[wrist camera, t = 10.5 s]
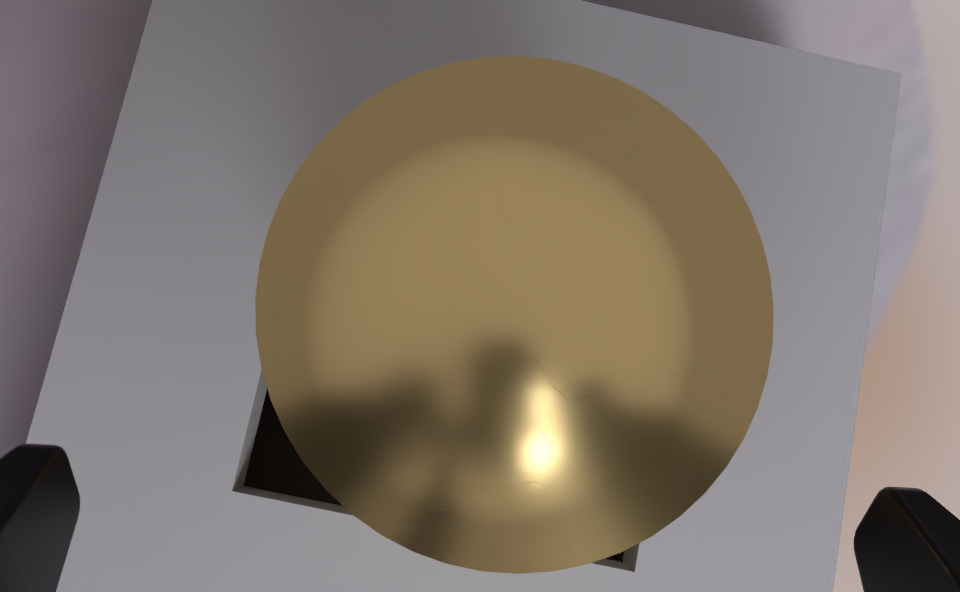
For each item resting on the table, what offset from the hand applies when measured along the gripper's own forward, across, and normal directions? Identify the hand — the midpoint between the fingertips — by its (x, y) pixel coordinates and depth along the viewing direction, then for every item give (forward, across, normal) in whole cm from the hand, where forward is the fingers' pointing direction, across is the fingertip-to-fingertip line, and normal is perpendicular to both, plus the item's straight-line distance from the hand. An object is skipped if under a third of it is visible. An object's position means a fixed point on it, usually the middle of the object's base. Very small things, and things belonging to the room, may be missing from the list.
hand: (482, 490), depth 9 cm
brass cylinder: (+10, 0, +7) cm, 12 cm away
